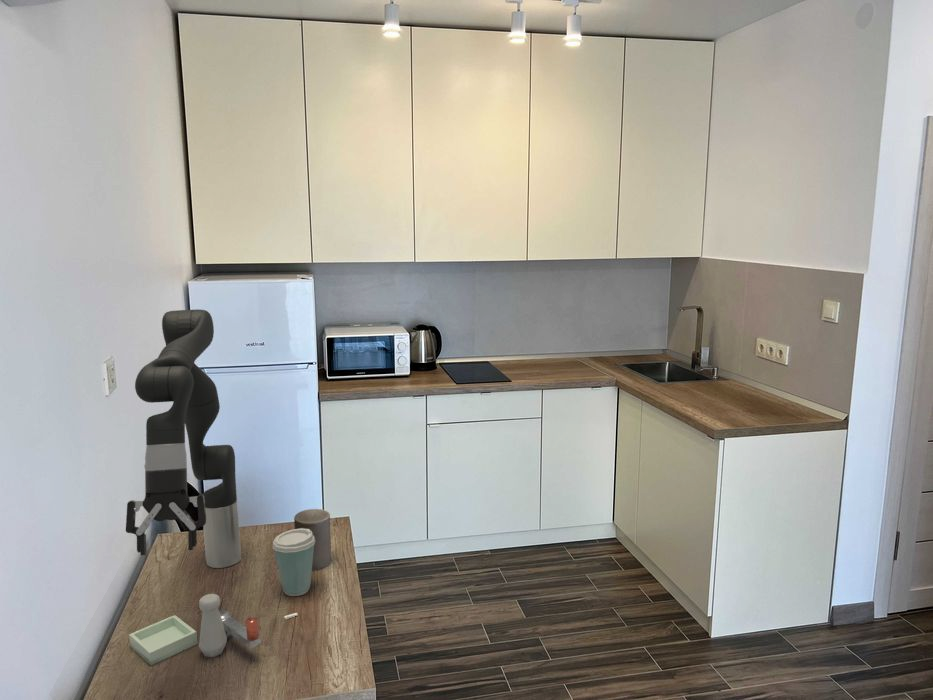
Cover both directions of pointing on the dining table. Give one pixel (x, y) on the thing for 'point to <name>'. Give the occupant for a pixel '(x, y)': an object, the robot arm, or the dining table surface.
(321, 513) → the pillar candle
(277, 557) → the disposable coffee cup
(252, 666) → the dining table surface
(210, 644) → the salt shaker
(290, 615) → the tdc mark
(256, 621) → the crank
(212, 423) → the robot arm
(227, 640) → the crank base
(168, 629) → the tray
